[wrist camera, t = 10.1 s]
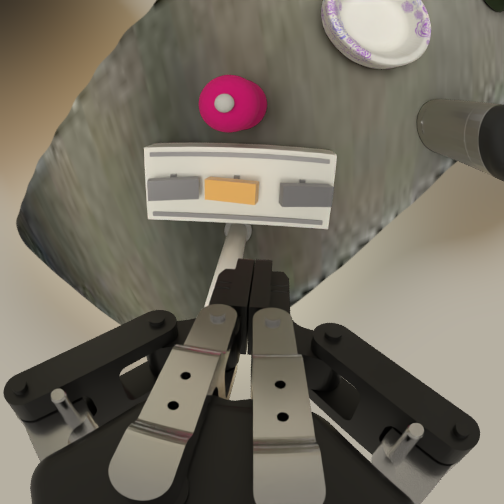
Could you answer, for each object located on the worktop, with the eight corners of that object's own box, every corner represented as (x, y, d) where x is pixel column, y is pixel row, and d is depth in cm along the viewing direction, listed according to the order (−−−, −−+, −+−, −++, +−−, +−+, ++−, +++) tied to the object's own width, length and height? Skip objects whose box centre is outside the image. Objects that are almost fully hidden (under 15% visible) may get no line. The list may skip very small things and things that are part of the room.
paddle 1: (198, 176, 42) (198, 179, 41) (198, 195, 44) (198, 199, 42) (148, 178, 41) (146, 181, 40) (150, 197, 42) (148, 201, 41)
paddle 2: (328, 183, 42) (334, 187, 40) (326, 203, 43) (331, 207, 41) (280, 182, 41) (283, 186, 39) (278, 202, 42) (282, 207, 40)
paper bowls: (427, 47, 35) (451, 40, 28) (358, 88, 40) (375, 85, 33) (370, -27, 31) (385, -45, 23) (296, 11, 35) (301, -6, 28)
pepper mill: (256, 134, 45) (247, 154, 27) (211, 118, 44) (171, 128, 26) (274, 91, 41) (277, 79, 24) (228, 75, 41) (198, 54, 23)
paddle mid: (259, 181, 41) (255, 184, 39) (258, 201, 42) (254, 205, 40) (209, 176, 42) (204, 179, 41) (209, 195, 43) (204, 199, 42)
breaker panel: (330, 150, 45) (337, 155, 40) (322, 217, 50) (328, 230, 45) (155, 143, 46) (142, 148, 41) (158, 208, 51) (146, 220, 46)
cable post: (252, 217, 50) (240, 295, 31) (251, 242, 52) (239, 328, 33) (225, 215, 51) (196, 291, 31) (225, 240, 53) (198, 325, 33)
